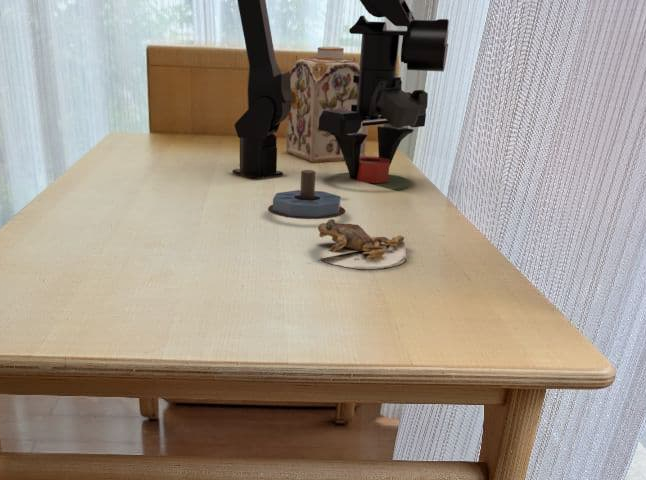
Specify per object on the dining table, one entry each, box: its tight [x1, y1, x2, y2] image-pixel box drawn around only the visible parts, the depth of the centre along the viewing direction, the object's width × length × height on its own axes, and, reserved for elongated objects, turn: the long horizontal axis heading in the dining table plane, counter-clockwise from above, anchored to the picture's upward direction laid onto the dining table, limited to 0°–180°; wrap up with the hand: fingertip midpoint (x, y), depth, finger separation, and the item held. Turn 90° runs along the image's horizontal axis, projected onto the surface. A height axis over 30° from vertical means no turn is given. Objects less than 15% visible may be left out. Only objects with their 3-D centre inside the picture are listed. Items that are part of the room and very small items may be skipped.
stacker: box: [267, 169, 346, 220], centre depth 114 cm, size 11×11×6 cm
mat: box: [333, 172, 411, 192], centre depth 136 cm, size 14×14×1 cm
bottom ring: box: [272, 189, 342, 218], centre depth 115 cm, size 9×9×2 cm
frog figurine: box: [317, 218, 408, 270], centre depth 99 cm, size 12×12×4 cm
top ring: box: [348, 155, 391, 184], centre depth 135 cm, size 6×6×3 cm
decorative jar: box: [285, 46, 369, 163], centre depth 151 cm, size 12×12×18 cm
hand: (368, 176), depth 136 cm, fingers closed on top ring, 6 cm apart
